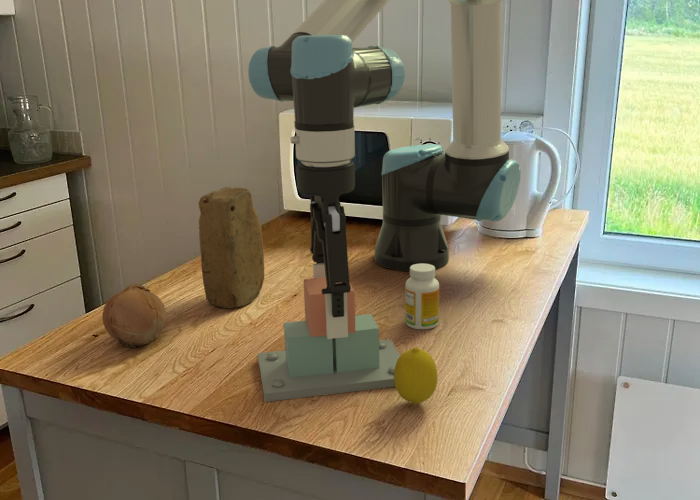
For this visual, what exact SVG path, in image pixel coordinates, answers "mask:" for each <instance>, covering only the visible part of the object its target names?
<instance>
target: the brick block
mask: <svg viewBox="0 0 700 500" xmlns="http://www.w3.org/2000/svg"><path fill="white" fill-rule="evenodd" d="M335 284H336V283H335ZM350 286H351V289H350V292H347V316H348V333H354V332H355V316H356V301H355V300H356V297H355V296H356V294H355V289H354V287H353V286H352V284H351V283H350ZM326 287H327V284H326V277H325V278H314V277H313V278H303V298H304V299H303V302H304V321H306V323H307V326H308V329H309V332H310V334H311V337H316V336H326V335H327V331H326V303H325V294H322V292H321V290H322V289H326Z"/></svg>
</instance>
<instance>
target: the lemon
mask: <svg viewBox="0 0 700 500" xmlns="http://www.w3.org/2000/svg"><path fill="white" fill-rule="evenodd" d="M437 368H438V367H437V365H436V362H435V359H434V358H433V356H432V355H431V354H430V353H429V352H427V351H426V350H424V349H421V348H419V347H418V346H417V347H416V346H415V347H413V348H410V349H408V350H405V351H403V353H402V354H400V357H399V358H398V360H397V363H396V366H395V370H394V382H395V390H396V392H397V393H398V394H399V396H400V397H401V398H402V399H403V400H405V401H407V402H410V403H411V404H413V405H416V406H417V405H418V404H420V403H423V402H425V401H427V400H428V399H429V398H431V397H432V396H433V395H434V393H435V391H436V388H437V384H438V369H437Z"/></svg>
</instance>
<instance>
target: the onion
mask: <svg viewBox="0 0 700 500" xmlns="http://www.w3.org/2000/svg"><path fill="white" fill-rule="evenodd" d="M166 311H167V310H166V308H165V305H164V303H163V301H162V300H161V298H160V297H159V296H157V295H156V294H155V293H153V292H152V291H151V290H150V289H148V288H147V287H145V286H143V285H142V284H138V283H132V284H131V283H130V284H129V286H126V287H125V288H124V289H122V290H120V291H119V292H117V293H116V294H114V295H112V296H111V297H109V299H108V300H107V301H106V302H105V305H104V306H103V310H102V316H101V318H102V324H103V326H104V329H105V330H106V333H108V334H109V336H111V338H112V339H113V340H115V341H117V342H118V343H119V344H121V345H123V346H125V347H133V348H134V349H136V348H137V347H138V346H141V347H142V346H144V345H145V344H147V345H148V344H151V342H152V341H155V339H158V336H160V335H161V333H162V330H163V329H164V328H165V326H166V319H167V312H166Z"/></svg>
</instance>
